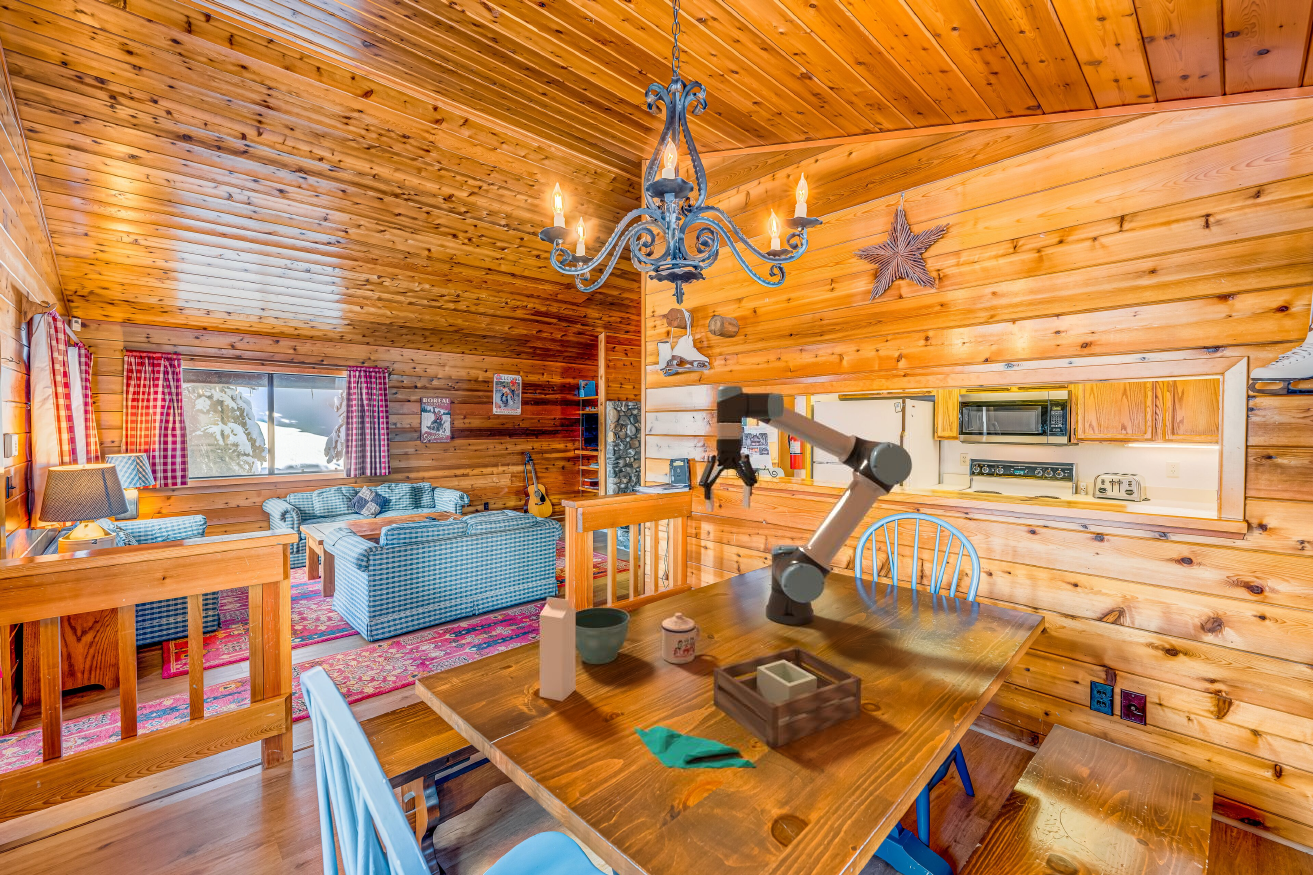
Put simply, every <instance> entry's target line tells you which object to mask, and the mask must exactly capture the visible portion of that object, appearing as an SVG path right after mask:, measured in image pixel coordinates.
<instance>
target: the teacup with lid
mask: <svg viewBox="0 0 1313 875" xmlns="http://www.w3.org/2000/svg"><path fill="white" fill-rule="evenodd" d="M661 629H662V631H661V633H662V636H661V638H662V642H661V643H662V644H661V646H662V647H661V648H662V649H661V651H662V652H661V655H662V659H663V660H665V662H668V663H671V664H675V665H676V664H686V663H687V664H688V663H690V662H692V661H693V660H694V658H695V656H696V655H695V652H696V651H695V650H696V648H695V647H696V646H695V644H697V643H698V641H699V640H700V638H701V633H702V632H701V628H700V626H698V625H696V623H695V621H694V620H692V619H691V618H687V617H686V616H683V614H682V613H681V612H675V614H674V616H672V617H668V618H665V619H664V620H663V621H662V623H661ZM695 630H696V631H695ZM695 632H696V633H695Z"/></svg>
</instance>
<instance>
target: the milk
mask: <svg viewBox="0 0 1313 875" xmlns="http://www.w3.org/2000/svg"><path fill="white" fill-rule="evenodd" d="M575 612H576V609H575V608H573V607H571V606H570V600H569V599H564V598H558V597H550V596H548V597H546V604H545V606H544V607H543V608H542V611H541V612H540V614H539V697H540V698H544V699H549V700H553V701H558V702H564V701H565V699H567V698H568V697H569V696H570V695H571V694H572V693H573V692H574V691H575V690H576V648H575Z"/></svg>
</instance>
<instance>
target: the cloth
mask: <svg viewBox="0 0 1313 875" xmlns="http://www.w3.org/2000/svg"><path fill="white" fill-rule="evenodd" d="M633 729H634V731H635V732H636V733H637V736H638V737H640V739H641V741H642V742H643V743H644V745H645V746H646V748H648V751H650V753H651V754H652V755H654V756H656V758H657V759H658V760H659V761H660V763H661V764H662V765H664V766H665V767H667V768H669V769H670V768H671V769H672V768H679V769H680V770H682V769H684V770H692V769H693V770H694V769H695V768H697V769H699V768H701V769H702V770H704V769H705V768H710V769H715V768H717V769H727V768H728V769H729V768H736V769H737V768H738V769H739V768H746V767H747V768H756V767H757V765H755V764H754V763H753V762H752V761H751V760H749V759H745V758H740V757H737V756H734V755H729V756H725V757H722V758H721V757H720V758H715V759H714V758H713V759H703V758H709V757H710V758H712V757H715V756H720V755H726V754H735V753H737V754H741V752H740V750H739V749H736V748H734V747H731V746H727V745H726V744H723V743H721V742H718V741H717V740H714V739H712V740H709V739H707V738H705V737H704V738H703V737H696V736H693V735H690V734H685V735H684V734H682V733H680V732H679V731H678V732H677V731H676V730H674V729H671V728H668V727H665V726H661V725H656V726H653V727H651V728H649V729H647V730H645V729H642V728H637V727H633ZM696 758H699V759H697V760H695V759H696ZM690 768H692V769H690Z"/></svg>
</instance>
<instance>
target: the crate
mask: <svg viewBox="0 0 1313 875" xmlns="http://www.w3.org/2000/svg"><path fill="white" fill-rule="evenodd" d="M781 660H786V661H787V662H789V663H791V664H793V665H795V666H797V667H798V668H800V669H802V670H804V671H806V672H808V673H810V674H811V675H813V676H815V677H817V690H814V691H811V692H808V693H805V694H802V695H799V696H796V697H793V698H790V699H787V700H784V701H781V702H778V703H773V702H772V703H770V702H768V701H767V700H765V699H764V698H762V697H761V696H759V695H758V694H757V667H760V666H763V665H767V664H770V663H774V662H777V661H781ZM803 664H804V665H803ZM805 665H806V666H805ZM807 666H808V667H809V668H808V667H807ZM811 668H812V669H814V670H815V671H814V670H812V669H811ZM816 671H817V672H816ZM755 672H756V674H755ZM818 672H819V673H818ZM752 673H754V674H752ZM820 673H821V674H820ZM749 674H750V675H749ZM751 674H752V675H751ZM822 674H823V675H824V676H823V675H822ZM745 675H749V676H745ZM742 676H745V677H742ZM825 676H826V677H825ZM739 677H740V678H739ZM741 677H742V678H741ZM827 677H829V678H830V679H829V678H827ZM735 678H738V679H735ZM831 679H833V680H834V681H836V682H834V681H833V680H831ZM713 705H714V706H715V707H716V708H718V709H719V710H721V712H723V713H724V714H725V715H727V716H728V717H730V718H731V719H732V720H734V722H736V723H737V724H739V725H740V726H741V727H742V728H744V729H745V730H746V731H747V732H749V733H750V734H751V735H753V736H754V737H755V738H756V739H758V740H759V741H761V742H762V743H763V744H764V745H765V746H767V747H768V748H769V749H770V750H774V749H776V748H779V747H781V746H784V745H786V744H788V743H792V742H795V741H796V740H799V739H801V738H805V737H807V736H809V735H812V734H815V733H818V732H821V731H823V730H825V729H828V728H831V727H834V726H836V725H839V724H841V723H844V722H846V721H848V720H852V719H854V718H856V717H859V716H861V713H862V711H861V710H862V709H861V708H862V707H861V706H862V677H860V676H858V675H856V674H854V673H852V672H849V671H848V670H846V669H844V668H841V667H840V666H837V665H835V664H834V663H832V662H829V661H828V660H826V659H824V658H822V657H819V656H818V655H816V654H814V653H812V652H810V651H808V650H806V649H803V648H802V647H800V646H797V645H795V646H793V647H788V648H785V649H780V650H778V651H775V652H774V651H773V652H770V653H767V654H763V655H759V656H756V657H751V658H748V659H744V660H741V661H736V662H734V663H730V664H726V665H721V666H719V667H714V668H713ZM814 707H816V709H815V710H812V711H809V712H807V713H804V714H801V715H798V716H795V717H793V718H790V719H787V718H786V717H789V716H792V715H795V714H798V713H800V712H803V711H806V710H809V709H812V708H814Z"/></svg>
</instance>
